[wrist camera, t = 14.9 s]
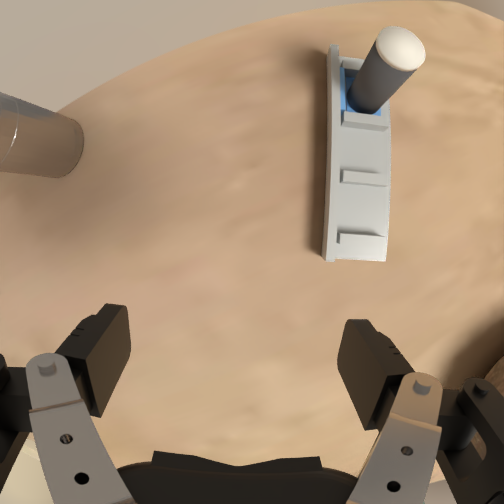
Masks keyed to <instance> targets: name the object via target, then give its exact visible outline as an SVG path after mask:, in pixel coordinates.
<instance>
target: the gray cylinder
mask: <svg viewBox="0 0 504 504" xmlns="http://www.w3.org/2000/svg"><path fill="white" fill-rule="evenodd" d="M424 60H425V49H424V46H423V44H422V43H421V41H420V40H419V39H418V38H417V36H415V35H414V34H413V33H412V32H410V31H409V30H407V29H405V28H402V27H398V26H389V27H386V28H384V29H382V30H381V32H380V33H379V35H378V37H377V39H376V41H375V42H374V44H373V46H372V48H371V50H370V52H369V53H368V55H367V57H366V59H365V61H364V63H363V64H362V66H361V68H360V70H359V72H358V74H357V75H356V77H355V79H354V81H353V83H352V85H351V86H350V88H349V90H348V92H347V101H348V103H349V105H350V107H351V108H352V109H353V110H354V111H355V112H357V113H362V114H370V115H372V114H374V113H376V112H377V111H378V110H379V109H380V108H381V106H382V105H383V104H384V103H385V102H386V101H387V100H388V99H389V98H390V97H391V96H392V95H393V94H394V93H395V92H396V91H397V90H398V89H399V87H400V86H401V85H402V84H403V83H404V82H405V81H406V80H407V79H408V78H409V77H410V76H411V75H412V74H413V73H414V72H415V71H416V70H417V69H418V67H419V66H420V65H421V64H422V63H423V62H424Z"/></svg>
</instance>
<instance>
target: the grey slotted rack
mask: <svg viewBox="0 0 504 504" xmlns="http://www.w3.org/2000/svg"><path fill="white" fill-rule="evenodd" d="M326 61H327V158H326V187H325V208H324V225H323V241H322V254H321V257H322V258H323V259H324V260H325V261H329V262H335V258H337V259H354V260H370V261H386V252H387V241H388V227H389V211H390V186H391V127H390V104H389V99H388V100H387V101H386V102H385V103H384V104H383V105H382V106H381V108H380V109H379V110H378V111H377V112H376V113H374V114H372V115H370V114H362V113H357V112H355V111H354V110H353V109H352V108H351V107H350V105H349V103H348V101H347V92H348V90H349V88H350V86H351V85H352V83H353V81H354V79H355V77H356V75H357V74H358V72H359V70H360V68H361V66H362V64H363V63H364V61H365V60H363V59H357V58H350V57H342V56H339V45H335V44H330V47H329V51H328V54H327V58H326Z"/></svg>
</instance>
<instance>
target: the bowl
mask: <svg viewBox="0 0 504 504" xmlns="http://www.w3.org/2000/svg"><path fill="white" fill-rule="evenodd" d="M484 380H486V381H488V382H490V383H491V384H492V385H493V386H494V387H495V388H496V389H497V390H498V391H499V392H500V394H501V395H502V396H503V397H504V356H503V357H502V358H501V359H499V361H498V362H497V363H496V364H495V365H494V366H493V368H492V369H491V370H490V371H489V373H488V374H487V375H486V377H485V378H484ZM471 442H472V444H473V445H474V447H475V449H476V450H477V452H478V454H479V455H480V457H481V459H482V460H483V459H484V458H485V456H486V445H485V443H484V441H483V439H482V438H481V436H480V435H479V433H478V432H476V434H475V435H474V437H473V438H472V440H471Z"/></svg>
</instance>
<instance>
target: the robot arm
mask: <svg viewBox="0 0 504 504" xmlns="http://www.w3.org/2000/svg"><path fill="white" fill-rule="evenodd" d="M83 139H84V138H83V132H82V129H81V127H80V126H79V124H78V123H77V122H76V121H74V120H72V119H69V118H67V117H64V116H62V115H60V114H57V113H55V112H52V111H49V110H47V109H44V108H42V107H39V106H36V105H34V104H31V103H29V102H26V101H23V100H21V99H18V98H15V97H12V96H9V95H6V94H4V93H1V92H0V172H10V173H20V174H29V175H37V176H45V177H53V178H58V177H62V176H65V175H66V174H68V173H69V172H70V171H71V170H72V169H73V168H74V167H75V165H76V164H77V162H78V160H79V158H80V156H81V153H82V149H83ZM130 352H131V339H130V330H129V320H128V311H127V307H126V306H125V305H116V304H108V303H106V304H105V305H104V306H103V307H102V308H101V310H100V311H99V312H98V313H97V314H96V315H91V316H89V317H87V318H85V319H83V320H82V321H81V322H80V323H79V324H78V325H77V327H76V329H74V330H73V331H72V332H71V334H70V335H69V336H68V337H67V338H66V340H65V341H64V342H63V343H62V344H61V346H60V347H59V348H58V349H57V350H56V352H55V353H45V354H40V355H38V356H35V357H34V358H32V359H31V360H30V361H29V362H28V363H27V365H26V367H7V364H6V362H5V359H4V357H3V355H2V354H0V493H1V491H2V489H3V486H4V484H5V482H6V480H7V478H8V475H9V473H10V471H11V469H12V467H13V465H14V463H15V461H16V458H17V456H18V454H19V452H20V450H21V448H22V446H23V444H24V442H25V440H26V438H27V437H28V435H29V433H30V432H33V435H34V439H35V443H36V447H37V451H38V455H39V458H40V462H41V465H42V469H43V472H44V475H45V479H46V481H47V485H48V488H49V491H50V493H51V496H52V499H53V502H54V504H423V502H424V499H425V496H426V492H427V489H428V485H429V482H430V479H431V475H432V471H433V467H434V463H435V459H436V460H437V462H438V464H439V466H440V468H441V470H442V472H443V474H444V476H445V479H446V481H447V483H448V485H449V487H450V489H451V491H452V493H453V496H454V498H455V500H456V502H457V504H504V397H503V396H502V395H501V394H500V392H499V391H498V390H497V389H496V388H495V387H494V386H493V385H492V384H491V383H490V382H488V381H486V380H484V379H481V378H476V377H472V378H468V379H466V380H465V381H464V383H463V385H462V387H461V389H460V390H448V389H443V388H442V385H441V383H440V382H439V381H438V380H437V379H436V378H434V377H433V376H431V375H428V374H425V373H420V372H415V371H414V370H413V368H412V367H411V366H410V364H409V363H408V362H407V360H406V359H405V358H404V356H403V355H402V354H400V353H401V352H400V351H399V350H398V349H397V348H396V346H395V345H394V343H393V342H392V341H391V340H390V338H388V337H387V336H385V335H384V334H382V333H381V332H377V331H376V329H375V328H374V327H373V325H372V324H371V323H370V321H369V320H367V319H349V320H347V322H346V324H345V328H344V332H343V336H342V340H341V344H340V348H339V352H338V358H337V365H338V370H339V373H340V375H341V377H342V379H343V382H344V384H345V386H346V388H347V391H348V393H349V395H350V398H351V400H352V402H353V404H354V407H355V409H356V411H357V414H358V416H359V418H360V421H361V423H362V425H363V427H364V430H365V431H366V430H373V429H378V431H379V434H378V436H377V438H376V440H375V442H374V444H373V446H372V448H371V450H370V452H369V454H368V456H367V458H366V460H365V462H364V464H363V466H362V468H361V470H360V472H359V474H358V476H357V477H355V476H353V475H350V474H348V473H345V472H342V471H339V470H335V469H330V468H324V467H322V464H321V461H320V457H319V456H318V457H303V458H280V459H276V460H271V461H266V462H261V463H256V464H251V465H245V466H232V465H228V464H224V463H220V462H216V461H212V460H208V459H205V458H201V457H198V456H194V455H184V454H175V453H167V452H160V451H154V453H153V457H152V461H151V462H141V463H135V464H130V465H126V466H123V467H120V468H118V469H116V468H115V466H114V464H113V462H112V460H111V458H110V457H109V455H108V453H107V451H106V449H105V447H104V445H103V443H102V441H101V439H100V436H99V434H98V432H97V430H96V428H95V426H94V423H93V421H92V419H91V417H90V416H95V417H99V418H101V417H102V414H103V412H104V410H105V408H106V406H107V403H108V401H109V399H110V397H111V395H112V393H113V391H114V388H115V386H116V384H117V382H118V380H119V378H120V376H121V374H122V372H123V370H124V368H125V366H126V363H127V361H128V359H129V357H130ZM476 432H478V433H479V435H480V436H481V438H482V439H483V441H484V443H485V445H486V456H485V458H484V459H483V460H482V459H481V457H480V455H479V454H478V452H477V450H476V449H475V447H474V445H473V444H472V442H471V440H472V438H473V437H474V435H475V434H476Z"/></svg>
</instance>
